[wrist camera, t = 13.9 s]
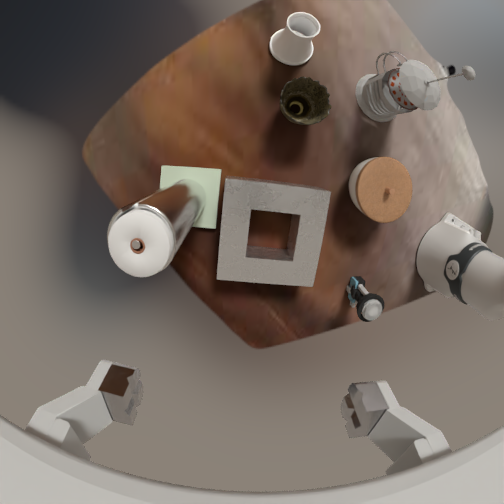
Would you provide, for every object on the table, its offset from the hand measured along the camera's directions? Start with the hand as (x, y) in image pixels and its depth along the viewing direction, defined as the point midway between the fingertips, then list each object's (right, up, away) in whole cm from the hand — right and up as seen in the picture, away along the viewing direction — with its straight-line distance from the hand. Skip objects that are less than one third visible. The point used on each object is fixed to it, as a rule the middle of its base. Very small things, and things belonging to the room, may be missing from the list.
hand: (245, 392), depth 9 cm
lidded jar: (+21, +17, +37) cm, 46 cm away
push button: (+21, -2, +44) cm, 49 cm away
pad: (-10, +15, +36) cm, 40 cm away
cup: (+7, +29, +32) cm, 44 cm away
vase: (+7, +41, +28) cm, 50 cm away
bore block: (+3, +10, +39) cm, 40 cm away
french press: (+23, +34, +31) cm, 52 cm away
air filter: (-11, +14, +35) cm, 40 cm away
